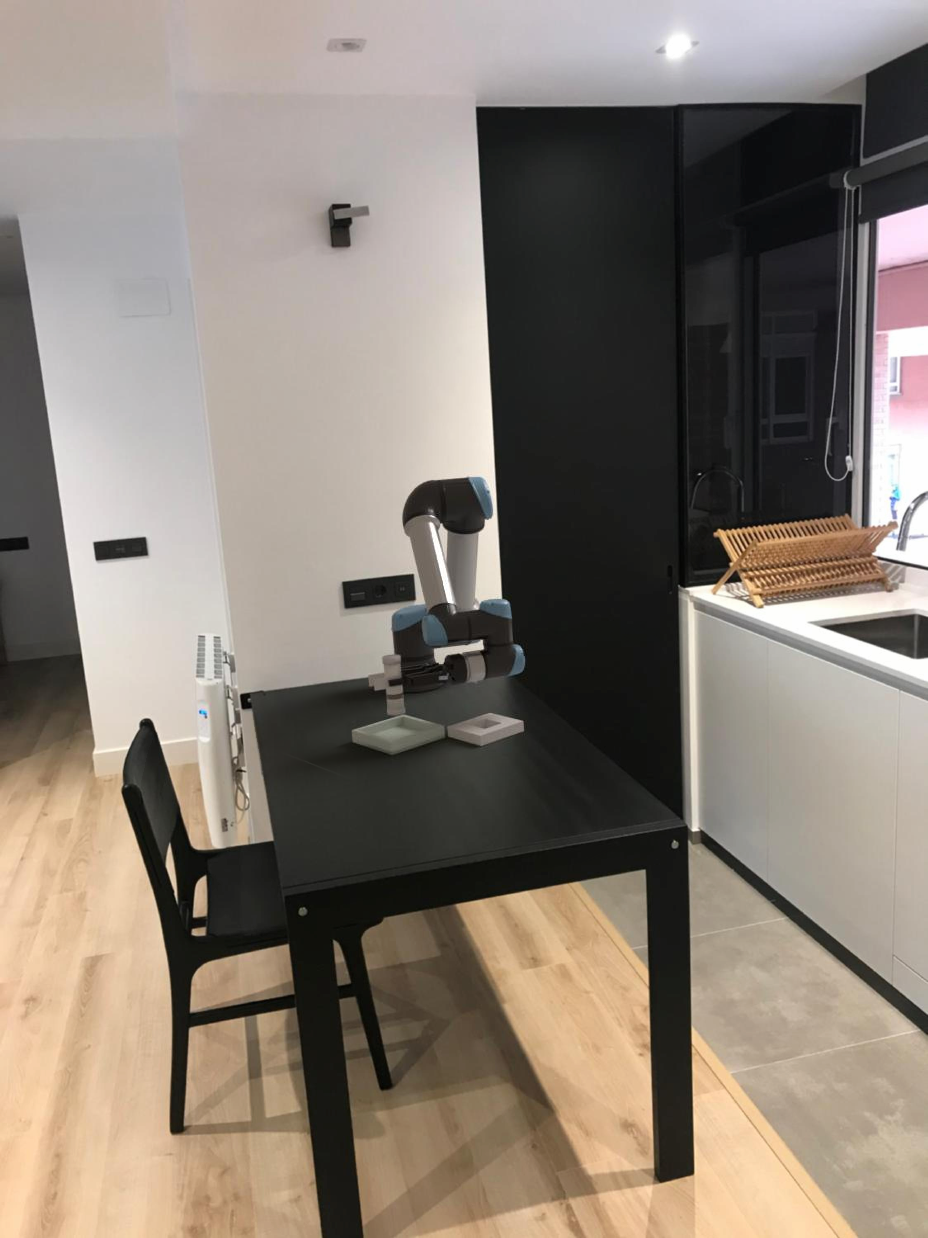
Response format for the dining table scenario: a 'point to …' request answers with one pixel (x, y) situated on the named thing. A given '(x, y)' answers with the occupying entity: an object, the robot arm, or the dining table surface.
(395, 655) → the fuse
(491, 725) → the socket block
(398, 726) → the parts tray
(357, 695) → the dining table surface
